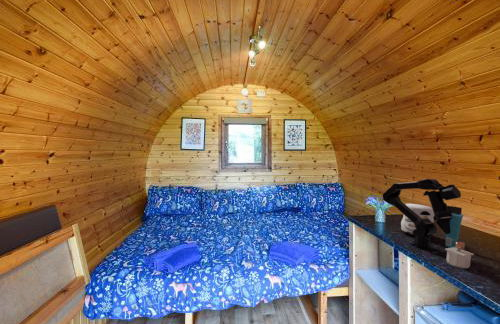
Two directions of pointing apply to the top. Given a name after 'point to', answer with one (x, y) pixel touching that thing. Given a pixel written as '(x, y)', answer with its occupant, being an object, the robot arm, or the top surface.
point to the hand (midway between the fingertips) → (448, 233)
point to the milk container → (421, 211)
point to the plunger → (459, 245)
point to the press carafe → (458, 257)
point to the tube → (453, 230)
